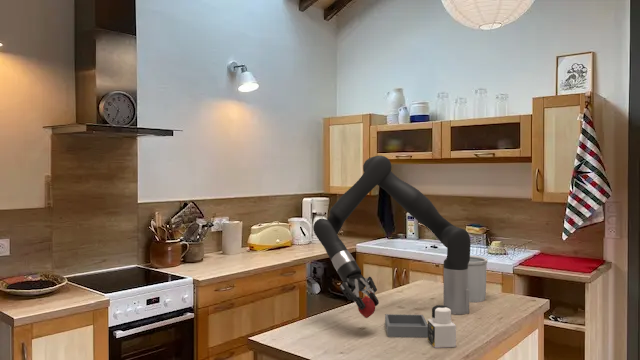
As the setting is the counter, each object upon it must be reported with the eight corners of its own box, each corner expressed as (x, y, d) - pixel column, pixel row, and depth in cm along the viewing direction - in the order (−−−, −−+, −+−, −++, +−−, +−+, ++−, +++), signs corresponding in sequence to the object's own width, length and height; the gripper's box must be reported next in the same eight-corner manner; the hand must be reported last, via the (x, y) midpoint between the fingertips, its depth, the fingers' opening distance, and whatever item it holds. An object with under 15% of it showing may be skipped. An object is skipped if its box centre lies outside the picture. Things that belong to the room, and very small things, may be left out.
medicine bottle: (427, 340, 162) (427, 304, 162) (448, 339, 163) (448, 303, 163) (434, 348, 155) (434, 310, 155) (456, 347, 156) (456, 309, 156)
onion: (376, 316, 170) (376, 293, 169) (373, 321, 164) (372, 297, 164) (360, 314, 172) (360, 291, 171) (356, 319, 166) (355, 296, 166)
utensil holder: (492, 303, 206) (492, 261, 206) (456, 303, 207) (456, 261, 206) (480, 293, 221) (481, 255, 221) (447, 293, 221) (447, 255, 221)
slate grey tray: (422, 324, 178) (422, 314, 178) (428, 337, 165) (428, 326, 165) (385, 324, 179) (385, 314, 179) (387, 336, 166) (387, 326, 165)
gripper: (335, 262, 168) (360, 304, 160) (365, 257, 178) (390, 296, 169) (325, 275, 173) (349, 317, 164) (355, 269, 182) (379, 308, 173)
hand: (370, 306), depth 166 cm, fingers closed on onion, 5 cm apart
